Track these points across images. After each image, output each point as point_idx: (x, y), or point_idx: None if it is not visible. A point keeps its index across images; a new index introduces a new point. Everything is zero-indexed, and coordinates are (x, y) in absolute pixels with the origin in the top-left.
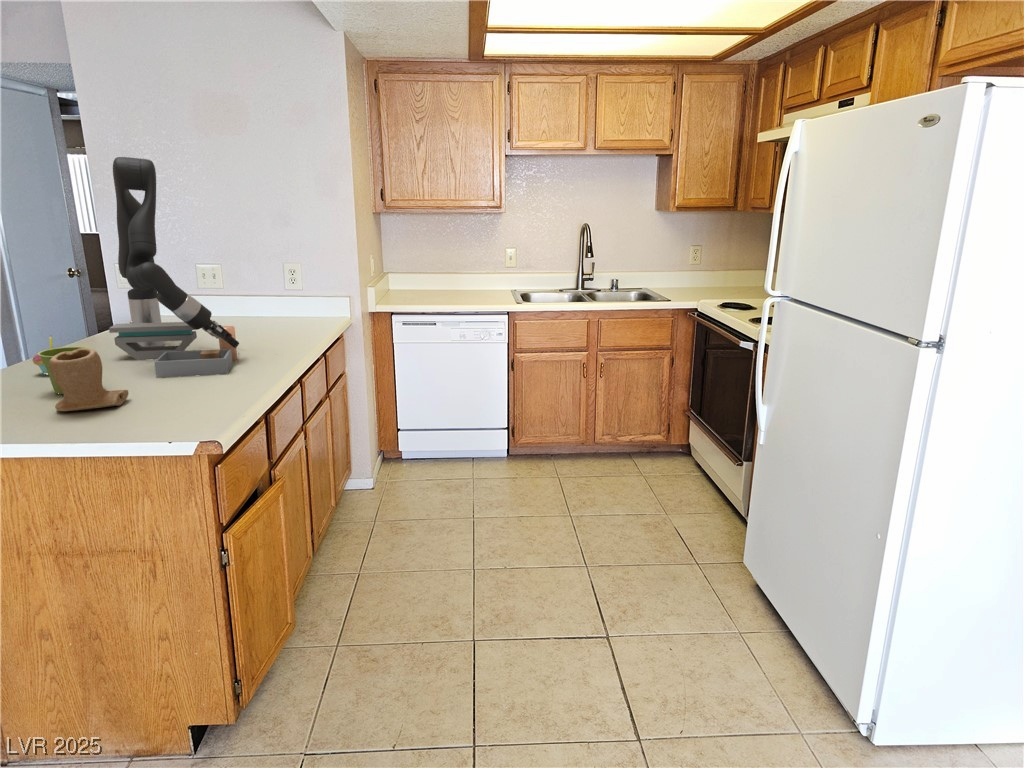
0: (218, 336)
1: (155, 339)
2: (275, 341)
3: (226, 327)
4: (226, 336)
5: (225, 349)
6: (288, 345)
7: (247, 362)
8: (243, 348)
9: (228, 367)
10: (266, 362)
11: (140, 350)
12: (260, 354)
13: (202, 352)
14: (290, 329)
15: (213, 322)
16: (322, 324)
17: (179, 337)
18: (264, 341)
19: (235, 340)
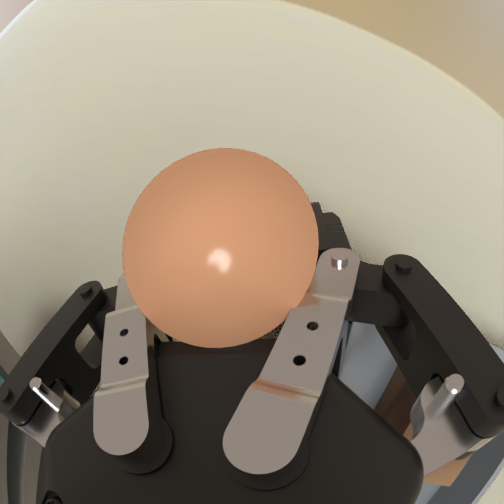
0: (340, 376)
1: (30, 495)
2: (79, 65)
3: (230, 243)
4: (405, 313)
5: (364, 325)
6: (154, 35)
7: (367, 220)
8: (80, 158)
9: None
10: (410, 154)
11: (40, 493)
12: (226, 121)
13: (427, 476)
14: (25, 50)
15: (402, 498)
16: (47, 9)
17: (32, 443)
18: (56, 91)
19: (322, 221)
